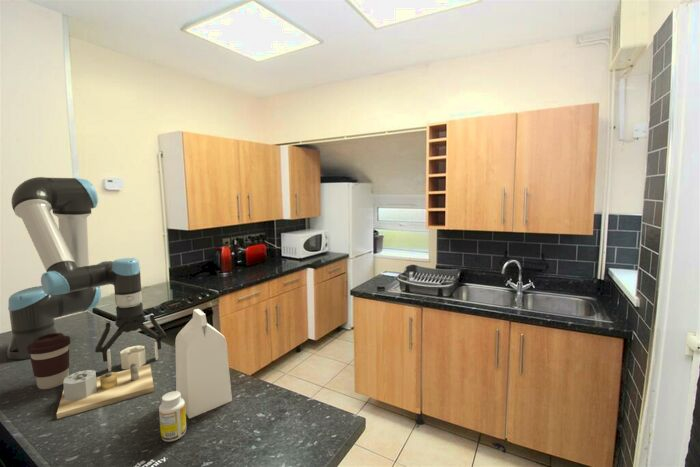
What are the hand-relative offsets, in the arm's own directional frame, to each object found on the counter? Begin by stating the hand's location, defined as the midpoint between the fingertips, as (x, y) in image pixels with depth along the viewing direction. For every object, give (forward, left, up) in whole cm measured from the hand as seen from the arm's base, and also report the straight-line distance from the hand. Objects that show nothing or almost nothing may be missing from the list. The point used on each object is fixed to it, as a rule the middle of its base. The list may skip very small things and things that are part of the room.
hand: (134, 363), depth 115 cm
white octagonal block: (0, 0, 0) cm, 0 cm away
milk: (+35, +16, 0) cm, 38 cm away
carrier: (+14, -7, 0) cm, 16 cm away
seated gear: (+14, -13, +1) cm, 19 cm away
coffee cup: (0, -21, 0) cm, 21 cm away
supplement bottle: (+46, +7, 0) cm, 46 cm away
